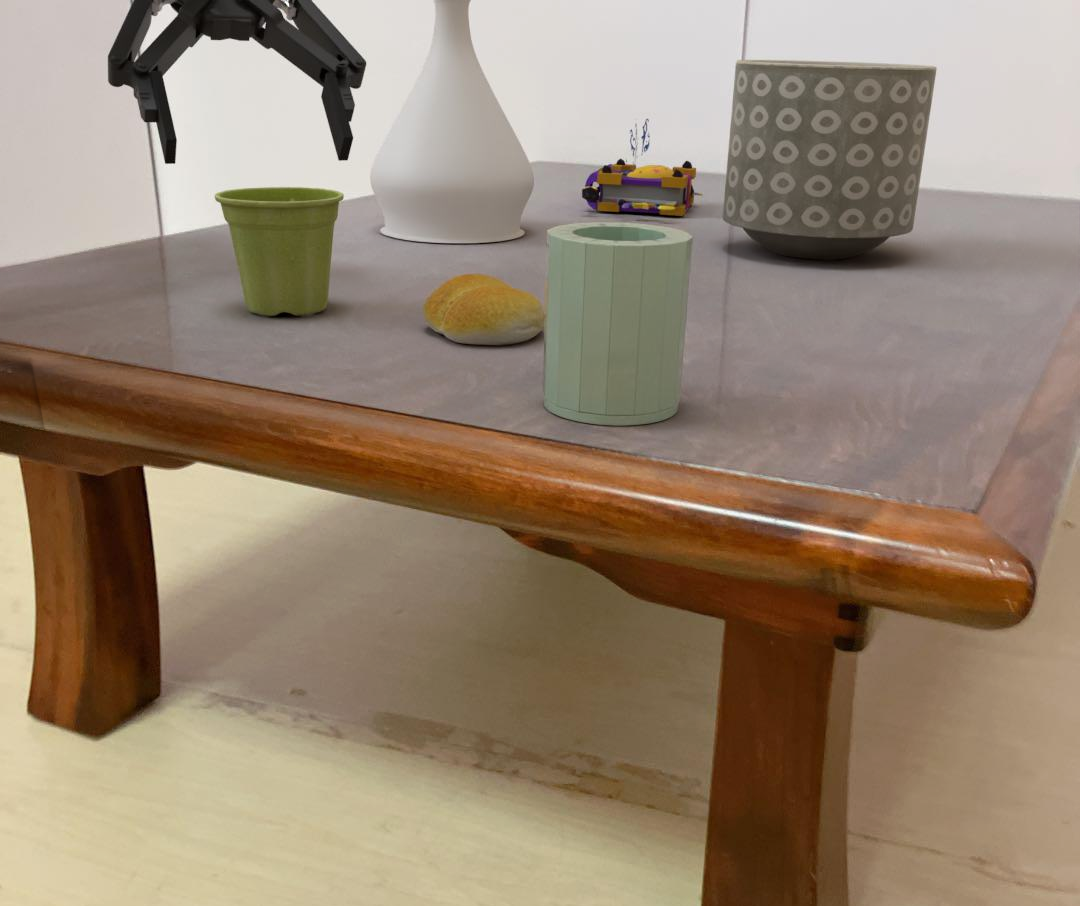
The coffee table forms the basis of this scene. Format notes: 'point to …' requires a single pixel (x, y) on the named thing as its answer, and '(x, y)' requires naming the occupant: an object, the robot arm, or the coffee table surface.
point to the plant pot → (282, 246)
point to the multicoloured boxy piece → (641, 187)
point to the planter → (826, 154)
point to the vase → (452, 150)
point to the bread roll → (483, 311)
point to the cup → (615, 321)
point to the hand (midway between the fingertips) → (261, 151)
